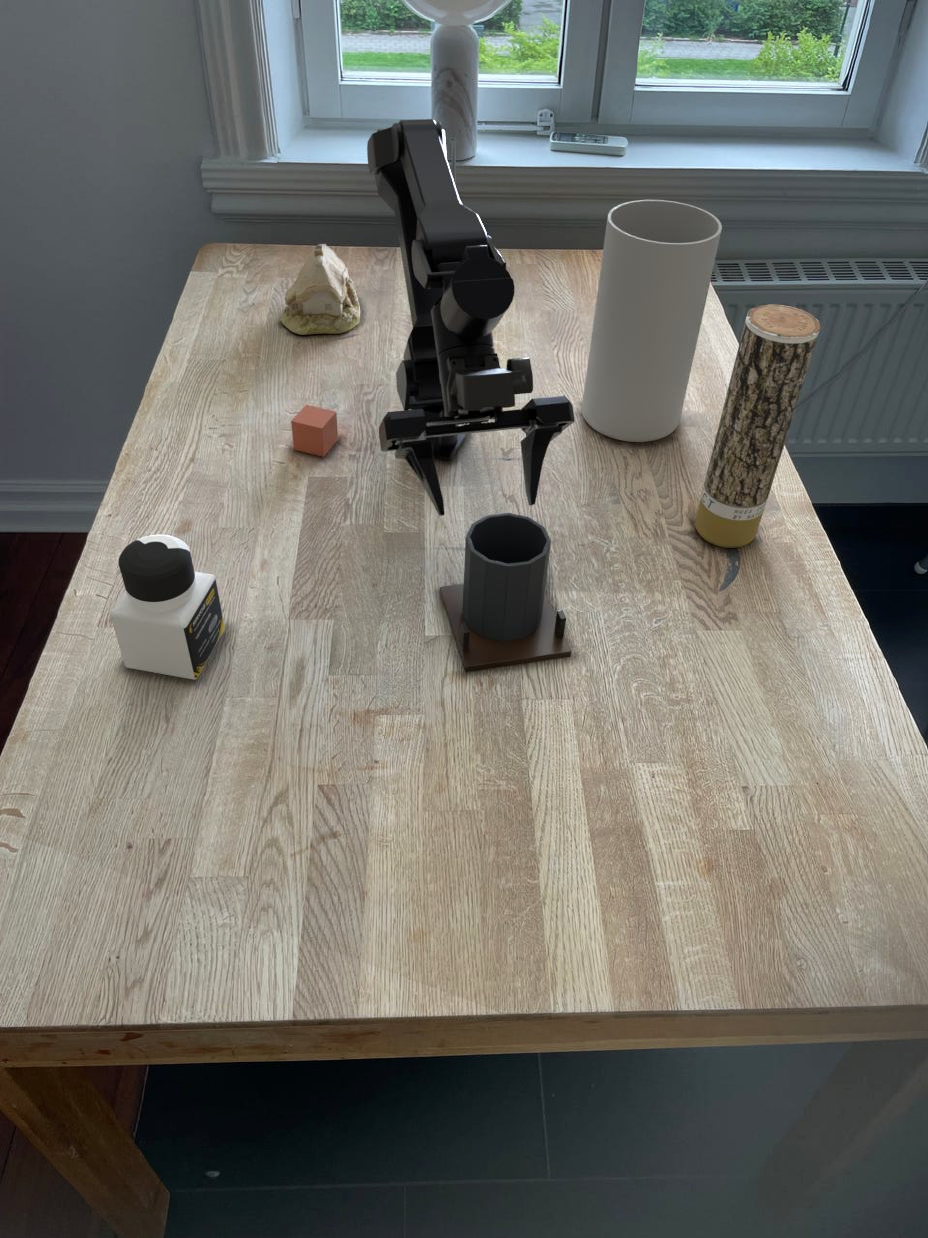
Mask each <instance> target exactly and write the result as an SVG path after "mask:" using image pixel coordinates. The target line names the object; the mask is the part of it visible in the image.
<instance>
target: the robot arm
mask: <svg viewBox="0 0 928 1238" xmlns="http://www.w3.org/2000/svg"><path fill="white" fill-rule="evenodd" d="M366 153H367V155H366V156H367V157H366V158H367V166H368V171H369V174H370V175H374V179H375V185H376V189H377V194H378V196H379V197H380V198H381V199H382V200H383V201H384V203H385V204H386V205H387V206H388V207H389V208H390V210H391V211H393V212H394V217H395V222H396V223H395V224H396V229H397V236H398V242H399V249H400V255H401V261H402V269H403V274H404V281H405V287H406V294H407V298H408V305H409V313H410V318H411V319H410V320H411V324H412V328H411V331H410V334H409V336H408V338H407V341H406V344H405V348H404V352H403V359H402V360H401V361H400V363H399V366H398V367H397V371H396V372H395V378H396V380H395V381H396V390H397V391H396V392H397V394H398V397H399V400H400V403H401V405H402V409H403V410H393V411H388V412H387V413H386V414H385V415H384V417H382V419H381V422H380V424H379V427H378V438H379V445H380V451H381V452H394V451H395V452H394V457H395V459H398V460H399V459H404V460H405V461H406V463H407V464H408V465H409V467H410V468H411V470H412V471H413V472H414V474H415V475H416V477H417V478H418V479H419V482H420V483H421V484H422V486H423V488H424V490H425V492H426V494H427V496H428V498H429V500H430V501H431V503H432V505H433V507H434V509H435V511H436V513H437V514H438V516H439V517H443V516H444V515H445V503H444V497H443V492H442V488H441V484H440V480H439V475H438V471H437V468H436V463H435V459H439V460H444V461H451V460H453V458H454V456H455V455H456V453H457V452H458V450H459V449H460V447H461V446H462V444H463V443H464V441H465V440H466V438H467V437H468V434H469V435H470V434H478V433H486V432H498V431H499V432H500V431H508V430H509V431H510V430H518V429H521V431H522V432H523V433H524V434H525V437H524V438H523V439H522V440H521V441H520V449H521V460H522V470H523V479H524V480H523V481H524V489H525V495H526V499H527V503H528V506H530V507H531V506H534V505H535V504H536V501H537V497H538V490H539V484H540V479H541V475H542V469H543V464H544V460H545V457H546V454H547V450H548V448H549V445H550V443H551V442H552V441H554V439H556V438H557V437H558V436H560V435H561V434H562V433H563V431H565V430H566V429H567V428H569V427H570V426H571V425H573V424H574V423H575V421H576V420H575V419H576V418H575V413H574V406H573V404H572V402H571V400H570V399H569V398H567V396H566V395H557V396H554V395H553V396H543V397H534V398H531V399H530V400H529V401H528V402H527V403H526V404H525V405H524V406H522V407H521V408H520V409H510V410H509V409H508V410H504V409H506V408H513V407H516V395H525V394H526V395H527V394H532V393H533V391H534V376H533V374H534V373H533V369H532V362H531V358H530V357H515V358H508V359H507V360H506V367H503V368H502V367H501V365H500V358H499V356H498V352H496V350H495V343H494V335H493V331H494V330H495V328H496V327H497V326H498V324H499V322H501V320H502V319H503V317H504V315H505V314H506V312H507V311H508V310H509V308H510V307H511V304H512V303H513V301H514V297H515V282H514V279H513V278H512V275H511V274H510V272H509V271H508V269H507V261H505V259H504V258H503V256H502V255H501V253H500V252H499V250H498V249H497V248H496V246H495V243H494V241H493V239H492V237H491V236H490V235H487V231H486V229H485V227H484V224H483V223H482V222H483V221H482V220H481V218H480V216H479V214H478V213H477V212H475V211H473V210H472V209H471V208H469V207H467V206H465V205H464V204H463V203H462V201H461V199H460V196H459V193H458V190H457V187H456V184H455V181H454V180H455V179H454V177H453V174H452V171H451V168H450V165H449V162H448V158H447V157H448V156H447V144H446V131H445V129H443V126H442V124H441V121H436V120H435V119H433V118H423V119H421V118H420V119H419V118H418V119H400V120H399V121H398V122H394V123H392V125H391V126H390V127H386V128H378V129H377V130H376V132H373V133H371V135H370V137H369V139H368V140H367V147H366ZM490 420H494V421H490ZM489 421H490V422H489Z"/></svg>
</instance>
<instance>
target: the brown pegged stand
mask: <svg viewBox="0 0 928 1238" xmlns="http://www.w3.org/2000/svg"><path fill="white" fill-rule="evenodd" d="M463 586H464V583H458V584H453V585H452V584H451V585H442V586H439V592H438V593H439V596H440V598H441V602H442V605H443V608H444V611H445V614H446V617H447V620H448V623H449V627H450V629H451V633H452V636H453V639H454V643H455V646H456V649H457V652H458V655H459V658H460V662H461V664H462V667H463V671H464V673H471V672H478V671H485V670H492V669H498V668H505V667H511V666H519V665H525V664H532V663H539V662H546V661H547V662H548V661H552V660H559V659H566V658H571V656H572V649H571V646H570V645H569V642H568V639H567V638H566V635H565V629H566V624H567V622H566V621H567V616H566V615H565V613H564V610H563V609H561V610H557V611H556V613H555V610H554V608H553V606H552V604H551V601H550V599H549V596H548V595H547V592H546V591H545V593H544V601H543V609H542V616H541V619H540V622H539V625H538V628H537V629H536V630H535V631H533V632H532V633H530V634H529V635H527V636H526V637H524V638H523V639H518V640H511V641H504V642H500V641H496V640H492V639H488V638H483V637H481V636H479V635H478V634H477V633H476V632H474V631H473V630H472V629H470V628H469V627H468V625H467V623H466V622H465V619H464V616H463V613H462V607H463Z"/></svg>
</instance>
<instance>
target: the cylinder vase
mask: <svg viewBox="0 0 928 1238" xmlns="http://www.w3.org/2000/svg"><path fill="white" fill-rule="evenodd" d="M722 230H723V225H722V222H721V221H720V219H718V218H717V217H716V216H715V215H714V214H712V213H711V212H709V211H707V210H705V209H703V208H700V207H697V206H695V205H691V204H689V203H684V202H680V201H674V200H673V201H672V200H664V199H639V200H632V201H627V202H623V203H620V204H618V205H616V206H614V207H613V208H610V210H609V212H608V213H607V219H606V226H605V232H604V233H605V234H604V241H603V248H602V256H601V262H600V271H599V278H598V283H597V284H598V286H597V293H596V300H595V307H594V314H593V316H594V317H593V320H592V321H593V322H592V330H591V336H590V344H589V352H588V358H587V366H586V373H585V380H584V388H583V395H582V404H581V414H582V416H583V418H584V420H585V422H586V423H587V424H588V425H589V427H590V428H592V429H593V430H595V431H596V432H598V433H599V434H601V435H603V436H605V437H608V438H611V439H614V440H618V441H624V442H631V443H647V442H653V441H658V440H661V439H663V438H665V437H668V436H669V435H670V434H672V433H673V432H674V431H675V430H676V429H677V428H678V426H679V425H680V421H681V417H682V413H683V408H684V404H685V399H686V395H687V390H688V385H689V381H690V376H691V372H692V367H693V363H694V357H695V353H696V348H697V344H698V339H699V335H700V332H701V331H700V330H701V325H702V321H703V316H704V313H705V307H706V304H707V298H708V294H709V289H710V284H711V280H712V276H713V271H714V266H715V261H716V258H717V257H716V256H717V253H718V248H719V247H718V246H719V243H720V239H721V235H722Z"/></svg>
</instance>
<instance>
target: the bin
mask: <svg viewBox="0 0 928 1238" xmlns="http://www.w3.org/2000/svg"><path fill="white" fill-rule="evenodd" d="M551 544H552V540H551V538H550V535H549V534H548V531H547V529H546V527H545V526H543V525H542V524H540V523H539V522H537V521H535V520H534V519H533V518H531V517H529V516H525V515H520V514H516V513H511V512H503V513H495V514H487V515H485V516H483V517H482V518H480V519H478V520H477V521H474V522H473V523H471V525H470V527H469V529H468V531H467V533H466V535H465V547H464V565H463V566H464V567H463V584H464V586H463V607H462V613H463V616H464V619H465V622H466V623H467V625H468V627H469V628H470V629H472V630H473V631H474V632H476V633H477V634H478V635H479V636H481V637H483V638H488V639H492V640H496V641H500V642H504V641H511V640H518V639H523V638H524V637H526V636H527V635H529V634H530V633H532V632H533V631H535V630H536V629H537V628H538V625H539V622H540V619H541V616H542V609H543V601H544V593H545V592H546V585H547V576H548V570H549V569H548V568H549V561H550V553H551Z"/></svg>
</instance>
